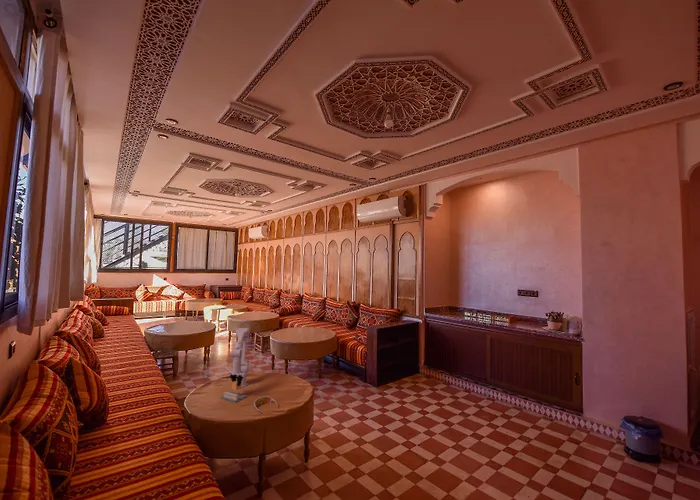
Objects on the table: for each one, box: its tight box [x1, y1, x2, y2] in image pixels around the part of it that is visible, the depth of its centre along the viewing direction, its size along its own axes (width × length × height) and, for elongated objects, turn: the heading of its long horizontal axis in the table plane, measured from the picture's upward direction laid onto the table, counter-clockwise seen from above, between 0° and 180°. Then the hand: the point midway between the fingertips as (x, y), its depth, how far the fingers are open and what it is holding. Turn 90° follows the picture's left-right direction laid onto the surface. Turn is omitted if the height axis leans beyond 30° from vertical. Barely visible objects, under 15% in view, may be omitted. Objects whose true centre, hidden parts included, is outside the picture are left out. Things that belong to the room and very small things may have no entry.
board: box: [220, 391, 248, 404], centre depth 227 cm, size 14×11×4 cm
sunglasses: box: [253, 395, 279, 415], centre depth 212 cm, size 14×15×5 cm
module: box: [231, 380, 243, 391], centre depth 229 cm, size 4×5×5 cm
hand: (236, 385), depth 229 cm, fingers closed on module, 4 cm apart
